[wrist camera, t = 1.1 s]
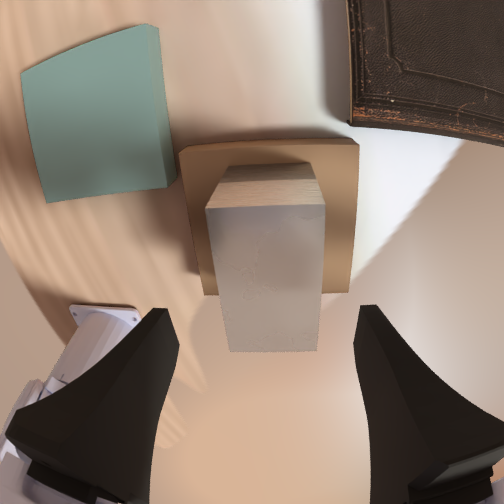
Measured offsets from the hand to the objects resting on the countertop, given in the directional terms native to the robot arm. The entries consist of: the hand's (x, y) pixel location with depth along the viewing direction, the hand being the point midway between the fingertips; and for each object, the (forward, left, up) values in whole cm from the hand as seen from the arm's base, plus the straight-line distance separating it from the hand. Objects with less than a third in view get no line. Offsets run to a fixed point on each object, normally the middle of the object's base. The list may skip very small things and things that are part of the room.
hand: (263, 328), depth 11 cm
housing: (0, 0, -8) cm, 8 cm away
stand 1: (+8, +11, -10) cm, 17 cm away
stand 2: (0, 0, -10) cm, 10 cm away
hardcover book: (+13, -16, -11) cm, 24 cm away
